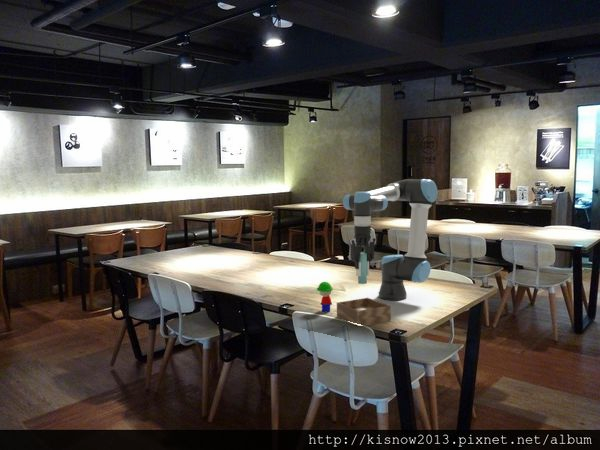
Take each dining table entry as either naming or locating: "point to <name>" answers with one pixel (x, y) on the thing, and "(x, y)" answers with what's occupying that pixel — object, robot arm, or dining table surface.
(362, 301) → the caddy
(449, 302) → the dining table surface
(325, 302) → the toy
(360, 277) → the peg
